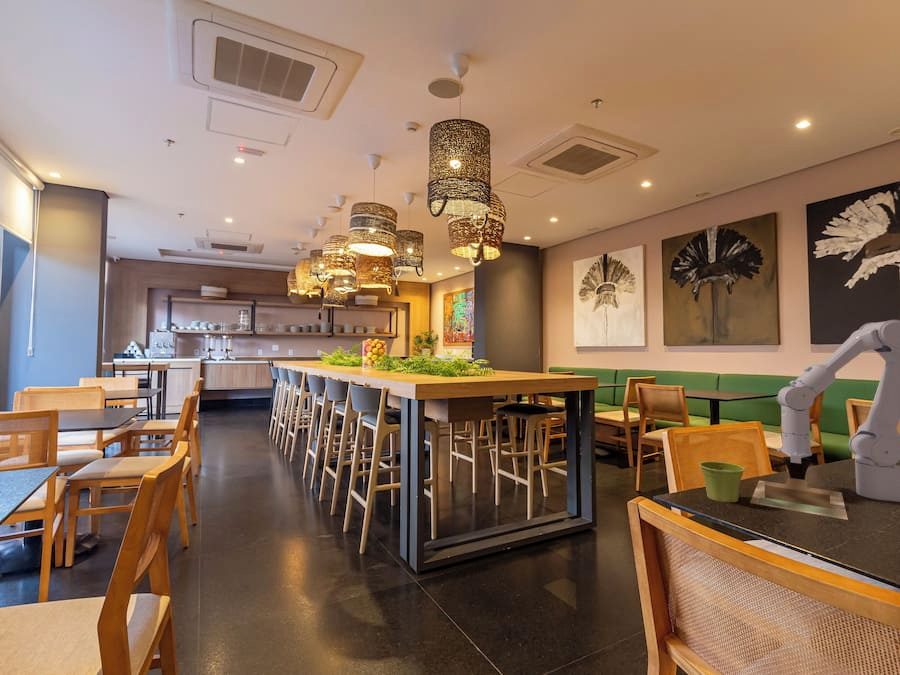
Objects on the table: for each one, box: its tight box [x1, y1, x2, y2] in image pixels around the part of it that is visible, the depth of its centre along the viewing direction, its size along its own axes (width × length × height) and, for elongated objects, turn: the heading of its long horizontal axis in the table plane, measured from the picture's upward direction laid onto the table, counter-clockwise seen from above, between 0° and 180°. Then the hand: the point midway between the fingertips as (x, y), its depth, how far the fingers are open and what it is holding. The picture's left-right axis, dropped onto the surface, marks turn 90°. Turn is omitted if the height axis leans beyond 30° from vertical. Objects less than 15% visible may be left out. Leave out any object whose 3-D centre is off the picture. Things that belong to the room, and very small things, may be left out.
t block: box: [764, 477, 830, 508], centre depth 107 cm, size 12×12×3 cm
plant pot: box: [698, 461, 746, 503], centre depth 106 cm, size 9×9×9 cm
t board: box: [749, 480, 849, 521], centre depth 106 cm, size 17×24×1 cm
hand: (797, 486), depth 112 cm, fingers closed
